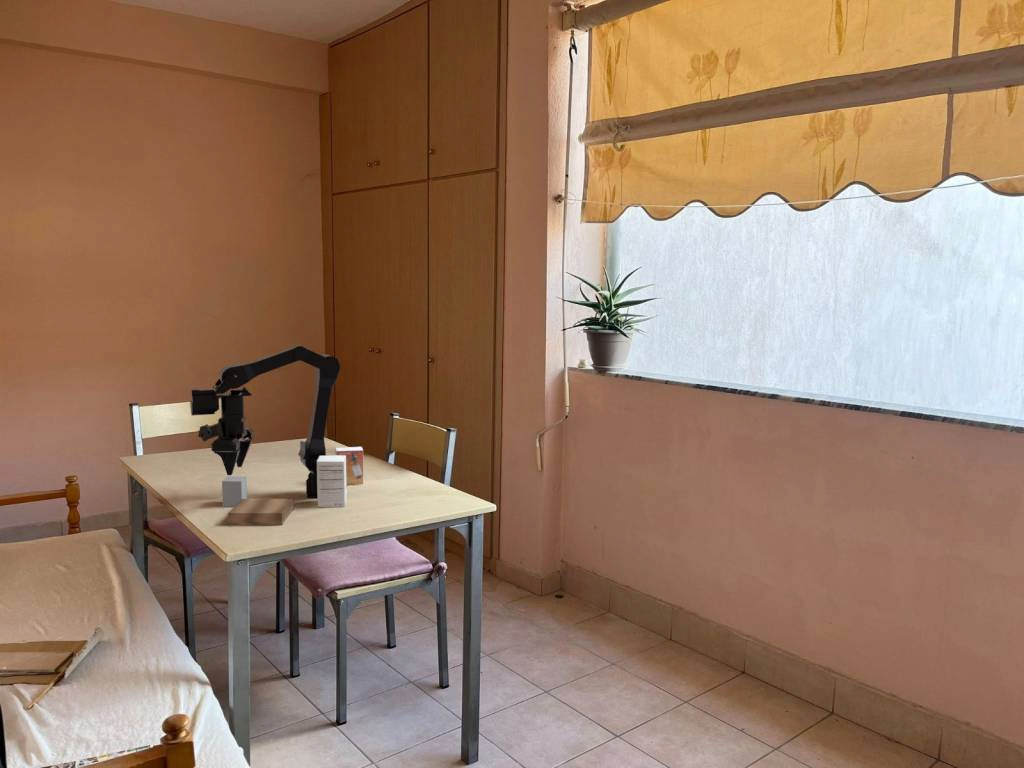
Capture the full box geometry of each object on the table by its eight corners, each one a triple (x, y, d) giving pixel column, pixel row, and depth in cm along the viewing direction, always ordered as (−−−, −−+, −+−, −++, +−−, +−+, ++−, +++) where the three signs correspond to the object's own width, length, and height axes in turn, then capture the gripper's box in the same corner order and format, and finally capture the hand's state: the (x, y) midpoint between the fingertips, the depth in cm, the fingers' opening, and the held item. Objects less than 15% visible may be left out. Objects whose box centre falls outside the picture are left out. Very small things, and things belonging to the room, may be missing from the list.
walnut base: (293, 509, 206) (293, 498, 206) (282, 524, 194) (281, 513, 193) (242, 510, 206) (242, 498, 205) (228, 525, 193) (227, 513, 192)
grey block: (247, 501, 213) (246, 476, 213) (242, 507, 209) (241, 481, 208) (228, 501, 213) (227, 476, 212) (222, 507, 208) (222, 481, 207)
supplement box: (319, 500, 216) (319, 455, 215) (347, 499, 217) (346, 454, 216) (316, 507, 209) (315, 461, 207) (345, 507, 210) (344, 460, 208)
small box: (336, 486, 232) (335, 450, 230) (335, 481, 237) (334, 447, 236) (363, 484, 234) (363, 449, 232) (362, 480, 239) (361, 446, 238)
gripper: (212, 407, 217) (214, 463, 218) (189, 419, 198) (191, 479, 200) (254, 407, 217) (255, 463, 219) (234, 419, 199) (236, 479, 201)
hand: (234, 471), depth 210 cm, fingers open, 9 cm apart
